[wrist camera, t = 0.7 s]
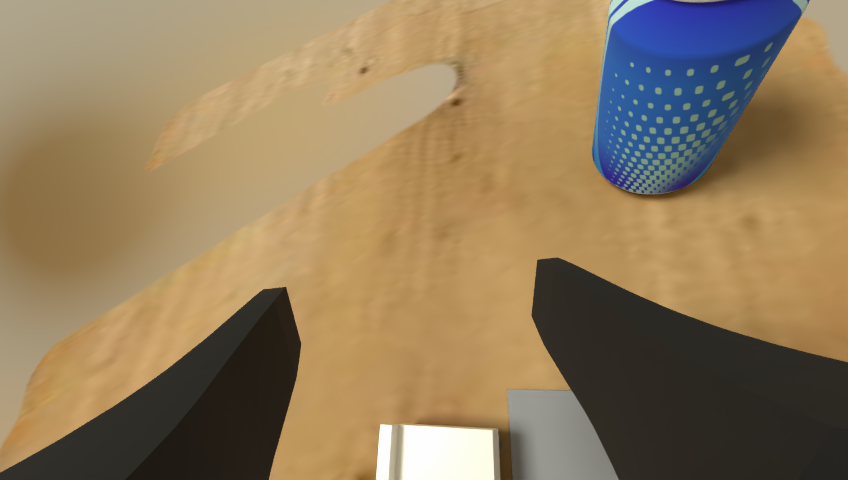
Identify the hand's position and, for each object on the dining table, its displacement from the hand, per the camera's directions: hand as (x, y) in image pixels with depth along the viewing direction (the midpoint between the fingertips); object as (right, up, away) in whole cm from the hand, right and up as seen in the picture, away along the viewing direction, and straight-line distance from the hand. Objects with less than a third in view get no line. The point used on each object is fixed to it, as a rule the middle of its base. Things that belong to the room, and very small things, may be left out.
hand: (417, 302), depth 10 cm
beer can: (+19, +8, +20) cm, 28 cm away
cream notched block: (+2, -15, +14) cm, 21 cm away
